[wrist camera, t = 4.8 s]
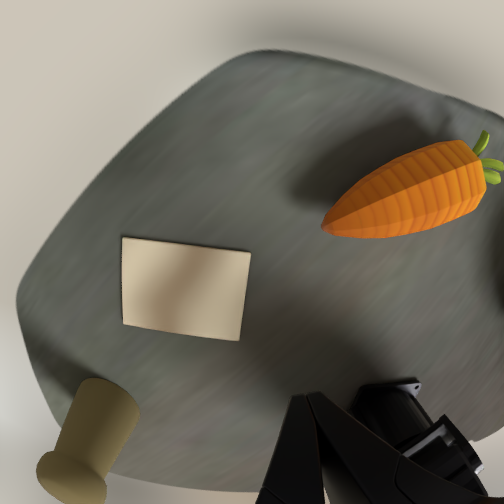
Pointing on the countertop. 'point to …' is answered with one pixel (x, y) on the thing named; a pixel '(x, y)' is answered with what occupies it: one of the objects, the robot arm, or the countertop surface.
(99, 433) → the cork
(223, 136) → the countertop surface
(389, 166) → the carrot
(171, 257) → the beige rectangular sheet
